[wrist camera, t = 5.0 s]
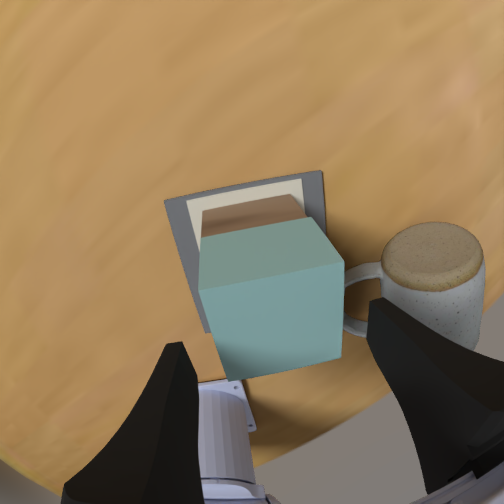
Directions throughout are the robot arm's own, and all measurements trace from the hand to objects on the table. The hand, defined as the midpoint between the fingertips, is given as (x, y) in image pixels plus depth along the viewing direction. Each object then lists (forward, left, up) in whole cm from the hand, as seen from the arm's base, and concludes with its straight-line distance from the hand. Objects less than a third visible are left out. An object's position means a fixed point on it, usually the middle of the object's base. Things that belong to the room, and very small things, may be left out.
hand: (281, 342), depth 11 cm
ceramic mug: (-5, -10, -9) cm, 14 cm away
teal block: (0, 0, -4) cm, 4 cm away
